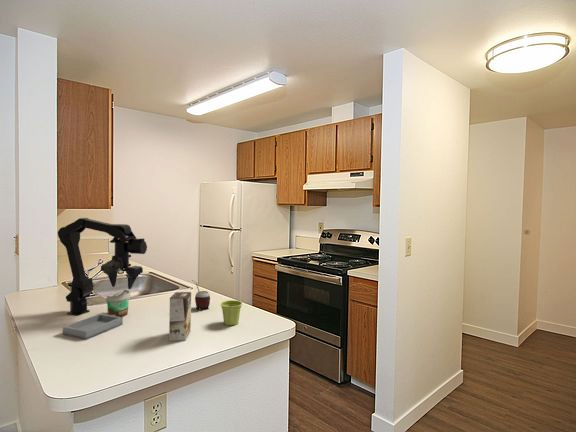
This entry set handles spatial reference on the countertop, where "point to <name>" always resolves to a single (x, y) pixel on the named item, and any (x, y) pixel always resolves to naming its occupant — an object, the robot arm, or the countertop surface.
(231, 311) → the plant pot
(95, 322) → the tray
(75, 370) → the countertop surface
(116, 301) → the food container
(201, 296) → the mate gourd
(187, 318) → the coffee box
